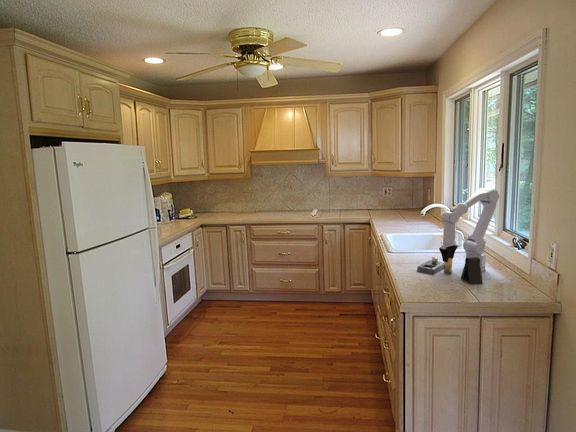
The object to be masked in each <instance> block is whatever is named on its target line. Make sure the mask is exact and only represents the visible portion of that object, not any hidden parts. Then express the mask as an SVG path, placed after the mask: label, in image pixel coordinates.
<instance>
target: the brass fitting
mask: <svg viewBox="0 0 576 432" xmlns="http://www.w3.org/2000/svg"><path fill="white" fill-rule="evenodd" d="M443 262H444V261H443ZM452 273H453V259H452V258H451V257H448V261H447V262H444V268H443V274H445V275H450V274H452Z"/></svg>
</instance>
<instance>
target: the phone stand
mask: <svg viewBox="0 0 576 432" xmlns="http://www.w3.org/2000/svg"><path fill="white" fill-rule="evenodd" d="M463 268H464V269H463ZM463 268H462V272H461V276H460V279H461V280H463V281H464V282H466V283H467V284H470V285H479V284H480V285H482V284H483V283H484V282H483V277H482V275H483V274H482V272H481V268H480V258H478V257H470V258H466V257H465V258H464V266H463Z"/></svg>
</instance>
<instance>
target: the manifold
mask: <svg viewBox="0 0 576 432" xmlns="http://www.w3.org/2000/svg"><path fill="white" fill-rule="evenodd" d="M442 270H444V261H439V257H436V256H432V257H431V259H429V260H427V261H425V262H423V263H421V264H420V265H418V266H417V269H416V271H417V272H421V273H426V274H430V275H431V274H432V275H435V274H436V273H439V272H440V271H442Z"/></svg>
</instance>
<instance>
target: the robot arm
mask: <svg viewBox="0 0 576 432" xmlns="http://www.w3.org/2000/svg"><path fill="white" fill-rule="evenodd" d="M499 198H500V194H499V191H498V190H497V189H495V188H492V189H491V188H485V187H480V188H478V189H477V190H475V191H474V193H473V194H472V195H471V196H470V197H469V198H468V199H467V200H465V202H460V203H459V202H458V203H457V204H456V205H455V206H453V208H451V209H450V210H449V211H448V210H447V211H445V212H443V213H442V216H441V220H442V224H443V235H442V241H440V244H441V245H440V247H439V252H440V255H441V257H442V262H447V261H448V257H451V258H452V260H453V259H454V256H455V255H456V251H457V249H458V247H459V245H458V244H457V243H456V242H457V240H456V225H457V223H458V222H459V220H460V218H461V217H462V216H463V215H464V214H466V213H468V211H469V208H471V207H472V206H474V205H475V204H478V203H480V204H481V205H482V206H483V209H482V211H481V213H480V215H479V218H478V221H477V223H476V225H475V227H474V230H473V232H472V234H470V235H468V236H467V237H466V239H465V240H464V242H463V243H462V248H463V250H464V252H465V259H466V258H470V257H478V258H480V268H481V273H482V272H484V271H485V270H486V261H487V257H486V255H485V254H483V253H484V252H485V248H486V244H487V242H486V240H485V238H484V237H485V234H486V232H487V230H488V227H489V225H490V223H491V220H492V218H493V216H494V213H495V210H496V209H497V204H498V201H499ZM463 269H464V267H463V268H462V270H463Z"/></svg>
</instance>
